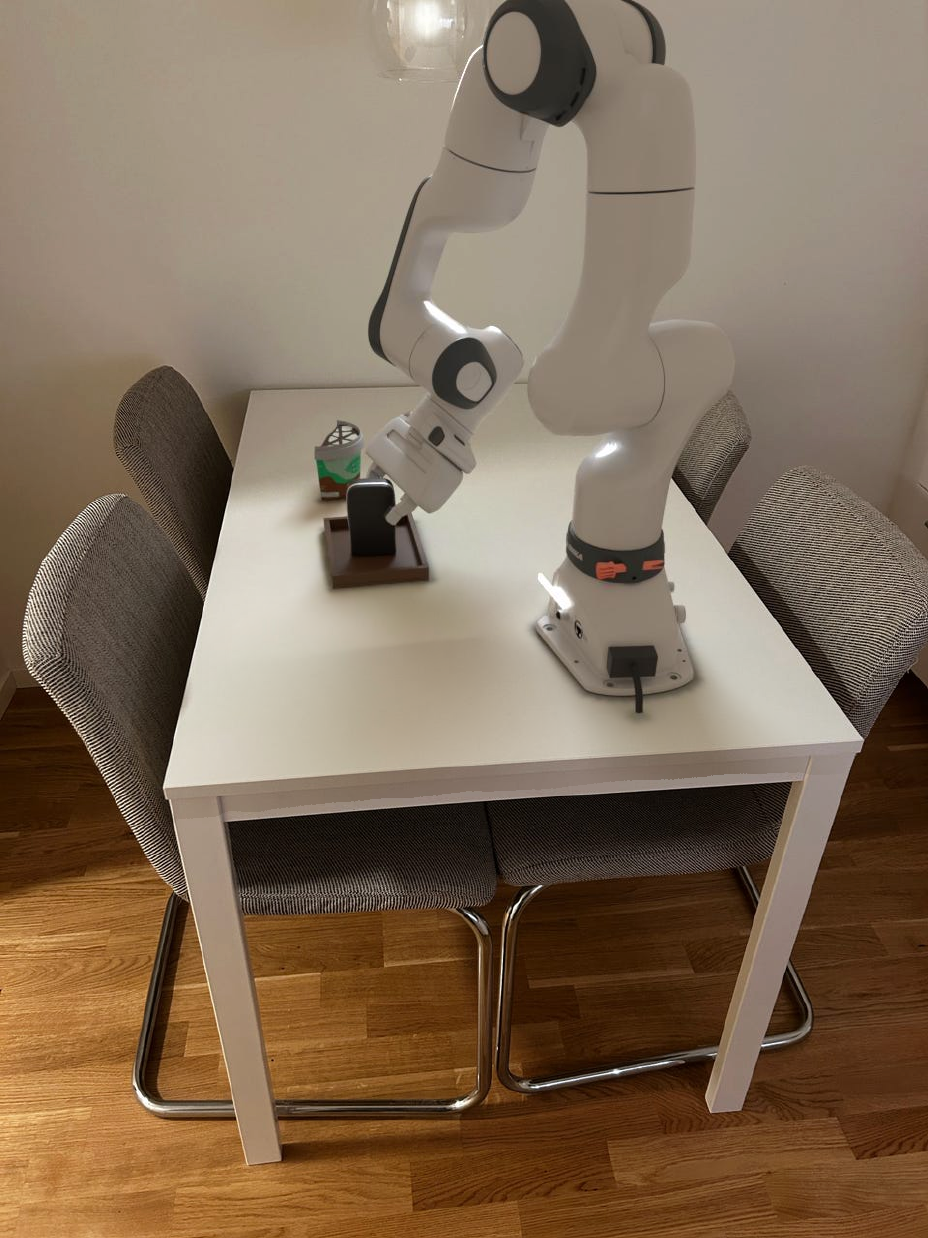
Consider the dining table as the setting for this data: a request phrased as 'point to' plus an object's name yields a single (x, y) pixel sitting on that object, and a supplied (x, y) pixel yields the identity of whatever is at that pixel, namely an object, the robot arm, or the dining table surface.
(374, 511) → the battery charger
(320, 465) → the food container
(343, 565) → the tray
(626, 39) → the robot arm
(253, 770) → the dining table surface
